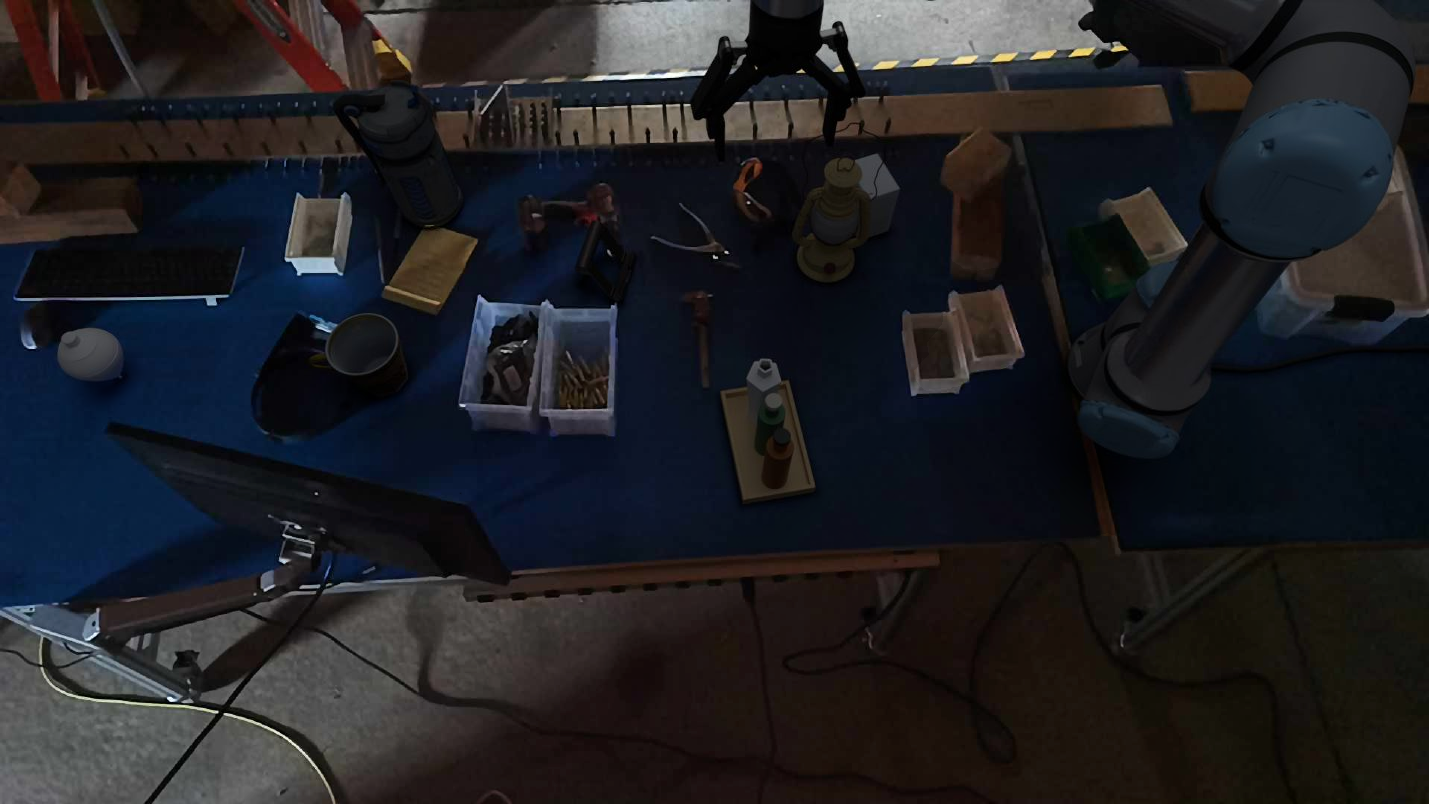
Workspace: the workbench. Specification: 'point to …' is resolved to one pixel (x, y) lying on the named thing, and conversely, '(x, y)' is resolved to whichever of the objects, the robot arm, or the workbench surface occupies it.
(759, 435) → the green bottle
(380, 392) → the ceramic cup
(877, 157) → the small box
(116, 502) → the workbench surface
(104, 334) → the spinning top
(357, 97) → the beverage bottle
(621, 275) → the tablet stand
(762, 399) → the perfume bottle
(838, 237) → the lantern
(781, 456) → the amber bottle
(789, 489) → the tray
